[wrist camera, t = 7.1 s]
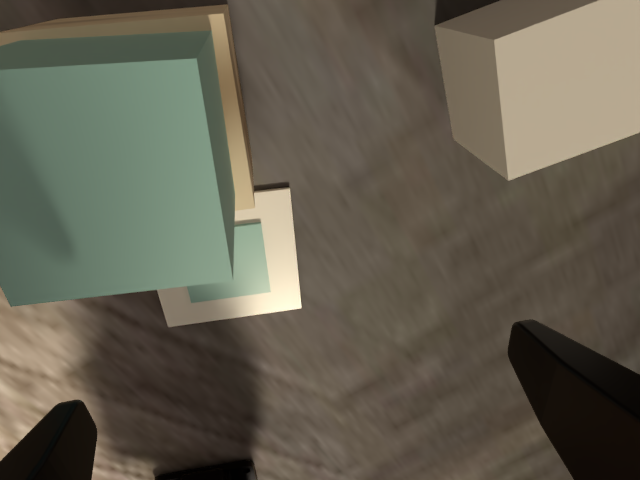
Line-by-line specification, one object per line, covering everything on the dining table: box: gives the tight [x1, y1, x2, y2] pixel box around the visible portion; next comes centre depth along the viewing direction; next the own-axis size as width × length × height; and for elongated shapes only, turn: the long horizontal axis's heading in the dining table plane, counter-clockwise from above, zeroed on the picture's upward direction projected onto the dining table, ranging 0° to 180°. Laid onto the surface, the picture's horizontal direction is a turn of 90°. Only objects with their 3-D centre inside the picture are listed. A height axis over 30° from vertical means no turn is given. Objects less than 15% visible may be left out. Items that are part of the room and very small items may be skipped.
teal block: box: [0, 30, 235, 306], centre depth 11 cm, size 5×5×5 cm
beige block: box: [434, 0, 640, 181], centre depth 17 cm, size 5×5×5 cm
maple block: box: [0, 4, 255, 211], centre depth 16 cm, size 6×6×5 cm
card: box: [157, 187, 302, 327], centre depth 22 cm, size 7×7×1 cm
